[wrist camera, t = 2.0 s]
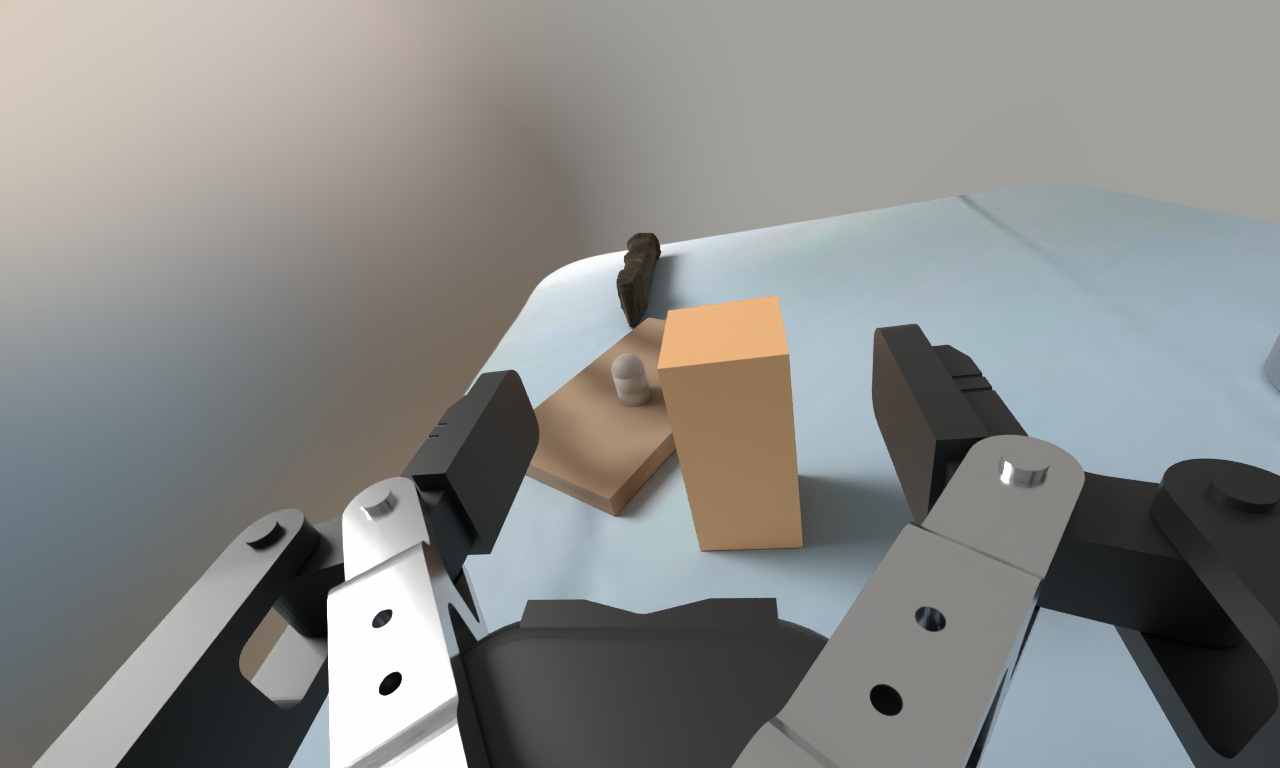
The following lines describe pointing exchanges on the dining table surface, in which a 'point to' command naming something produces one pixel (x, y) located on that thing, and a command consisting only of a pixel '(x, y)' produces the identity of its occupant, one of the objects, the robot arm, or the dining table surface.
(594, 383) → the jig plate
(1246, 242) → the dining table surface
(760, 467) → the light orange rectangular block
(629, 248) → the dark brown rough bar
